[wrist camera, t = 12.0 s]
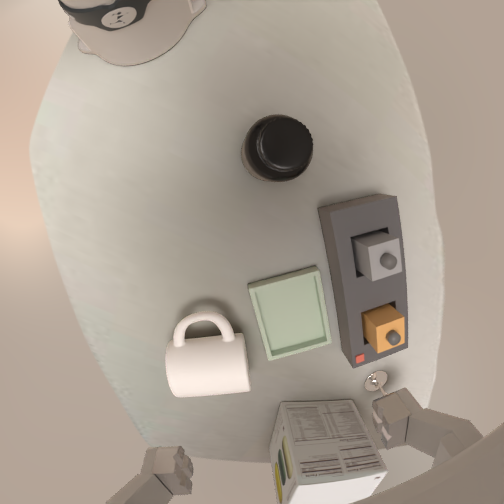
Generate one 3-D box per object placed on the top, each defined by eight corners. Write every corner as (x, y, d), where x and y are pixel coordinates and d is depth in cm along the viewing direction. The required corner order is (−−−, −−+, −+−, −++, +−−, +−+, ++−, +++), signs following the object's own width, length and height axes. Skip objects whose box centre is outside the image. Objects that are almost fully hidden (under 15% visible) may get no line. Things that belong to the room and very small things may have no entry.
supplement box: (279, 400, 45) (298, 485, 28) (352, 397, 46) (390, 470, 29) (267, 448, 48) (278, 524, 31) (332, 445, 49) (357, 513, 32)
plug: (355, 304, 40) (380, 331, 32) (380, 296, 40) (409, 320, 32) (358, 328, 41) (381, 358, 33) (382, 320, 41) (408, 347, 33)
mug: (249, 368, 43) (252, 402, 35) (184, 375, 42) (177, 409, 35) (237, 295, 40) (239, 322, 32) (165, 304, 40) (151, 331, 32)
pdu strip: (317, 208, 38) (330, 212, 33) (378, 193, 38) (397, 196, 33) (342, 350, 43) (353, 369, 38) (393, 332, 43) (408, 348, 38)
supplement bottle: (239, 180, 36) (243, 180, 25) (241, 126, 35) (246, 102, 23) (294, 183, 37) (322, 184, 25) (296, 130, 35) (325, 109, 24)
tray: (247, 283, 40) (248, 289, 38) (315, 265, 40) (319, 270, 38) (267, 353, 42) (268, 360, 40) (327, 336, 42) (331, 343, 40)
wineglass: (355, 382, 45) (382, 429, 33) (382, 361, 44) (416, 404, 33) (369, 398, 46) (395, 443, 35) (395, 379, 46) (426, 420, 34)
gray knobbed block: (345, 235, 37) (372, 249, 29) (372, 228, 37) (404, 240, 29) (350, 264, 38) (377, 284, 30) (376, 256, 38) (407, 274, 30)
